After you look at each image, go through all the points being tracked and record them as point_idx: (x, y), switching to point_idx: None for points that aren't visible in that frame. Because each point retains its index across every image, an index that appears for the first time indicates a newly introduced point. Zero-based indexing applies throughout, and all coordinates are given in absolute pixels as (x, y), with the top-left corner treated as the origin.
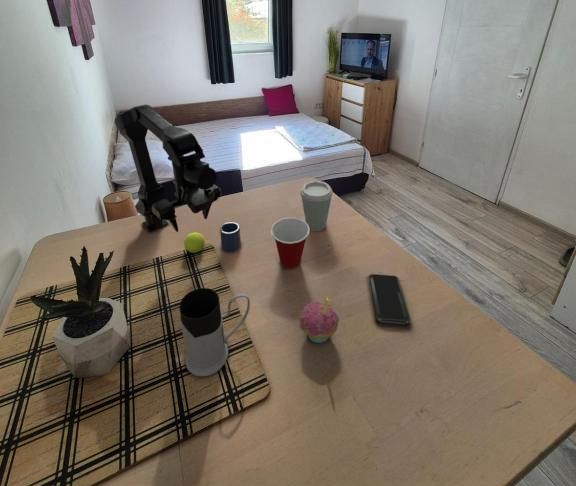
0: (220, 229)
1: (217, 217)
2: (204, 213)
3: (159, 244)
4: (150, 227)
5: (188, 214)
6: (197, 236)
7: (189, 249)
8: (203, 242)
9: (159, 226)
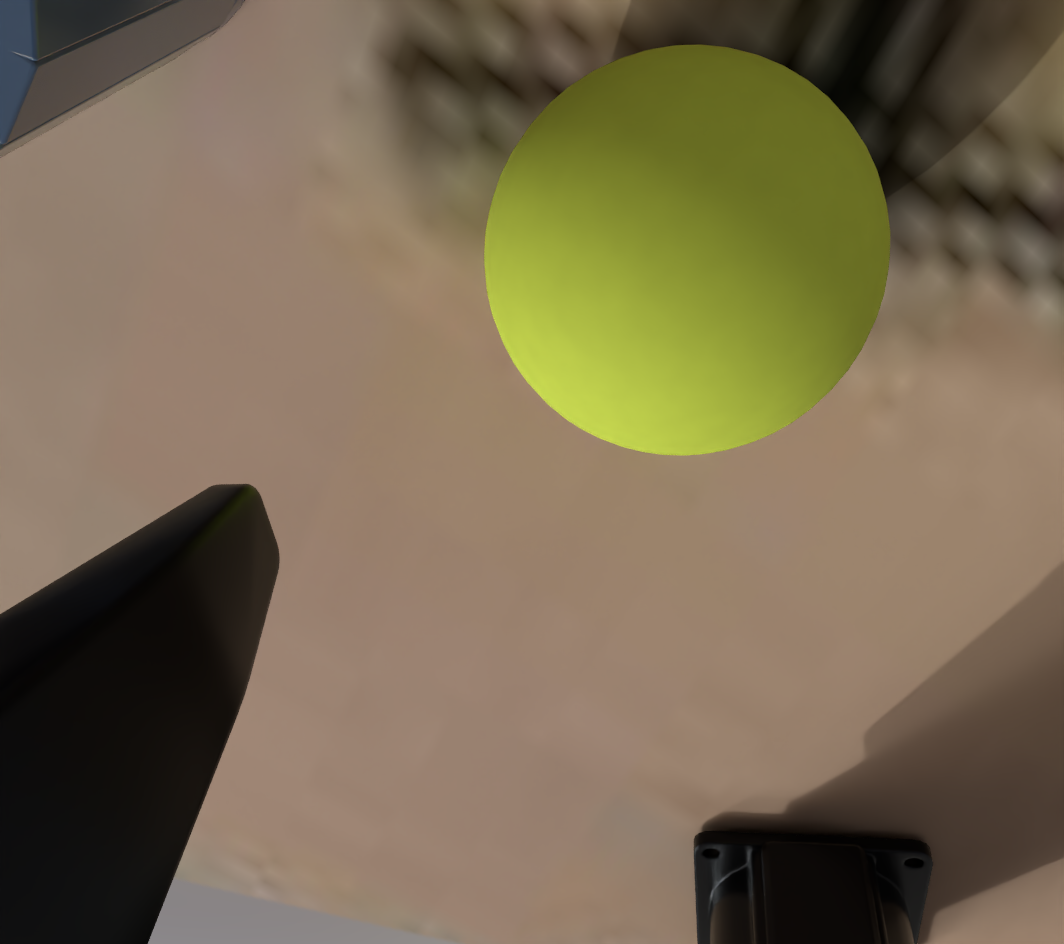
0: (27, 17)
1: None
2: (181, 653)
3: (991, 620)
4: (893, 888)
5: (430, 831)
6: (629, 251)
7: (860, 139)
8: (552, 114)
9: (815, 852)
